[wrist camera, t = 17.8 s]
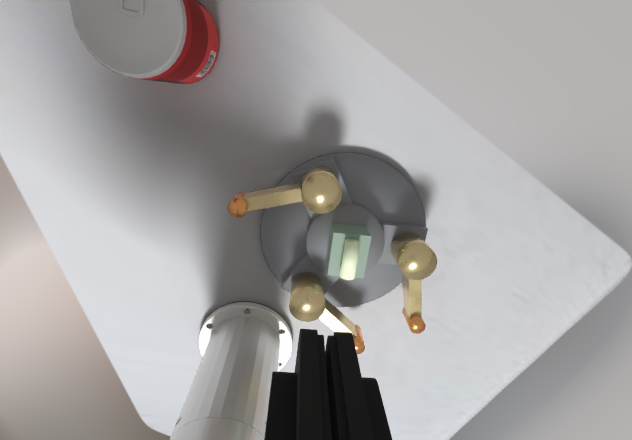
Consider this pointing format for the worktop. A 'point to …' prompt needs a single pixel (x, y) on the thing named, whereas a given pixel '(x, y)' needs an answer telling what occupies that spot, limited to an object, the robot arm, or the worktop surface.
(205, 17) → the canned food
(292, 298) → the knob
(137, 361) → the worktop surface
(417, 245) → the knob
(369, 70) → the worktop surface
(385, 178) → the tribrach
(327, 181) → the knob
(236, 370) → the robot arm
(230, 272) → the worktop surface
